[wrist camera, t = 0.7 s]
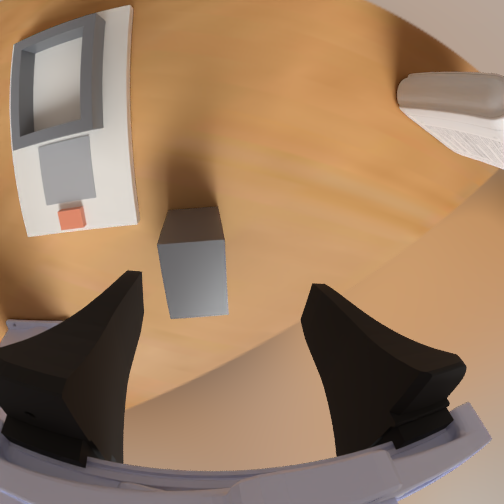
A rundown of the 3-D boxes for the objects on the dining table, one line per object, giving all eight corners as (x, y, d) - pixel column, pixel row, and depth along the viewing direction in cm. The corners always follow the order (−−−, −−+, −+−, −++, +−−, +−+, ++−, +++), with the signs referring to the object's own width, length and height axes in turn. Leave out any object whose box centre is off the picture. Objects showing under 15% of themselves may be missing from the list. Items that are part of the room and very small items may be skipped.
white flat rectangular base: (33, 232, 18) (16, 247, 15) (19, 46, 11) (-1, 41, 8) (140, 219, 20) (131, 235, 17) (133, 9, 12) (123, -6, 10)
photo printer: (467, 123, 20) (566, 151, 9) (457, 158, 22) (556, 199, 11) (401, 67, 17) (525, 65, 6) (388, 108, 19) (518, 127, 8)
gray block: (176, 270, 22) (170, 318, 17) (168, 210, 20) (157, 244, 14) (221, 267, 22) (228, 314, 17) (218, 206, 20) (224, 239, 15)
